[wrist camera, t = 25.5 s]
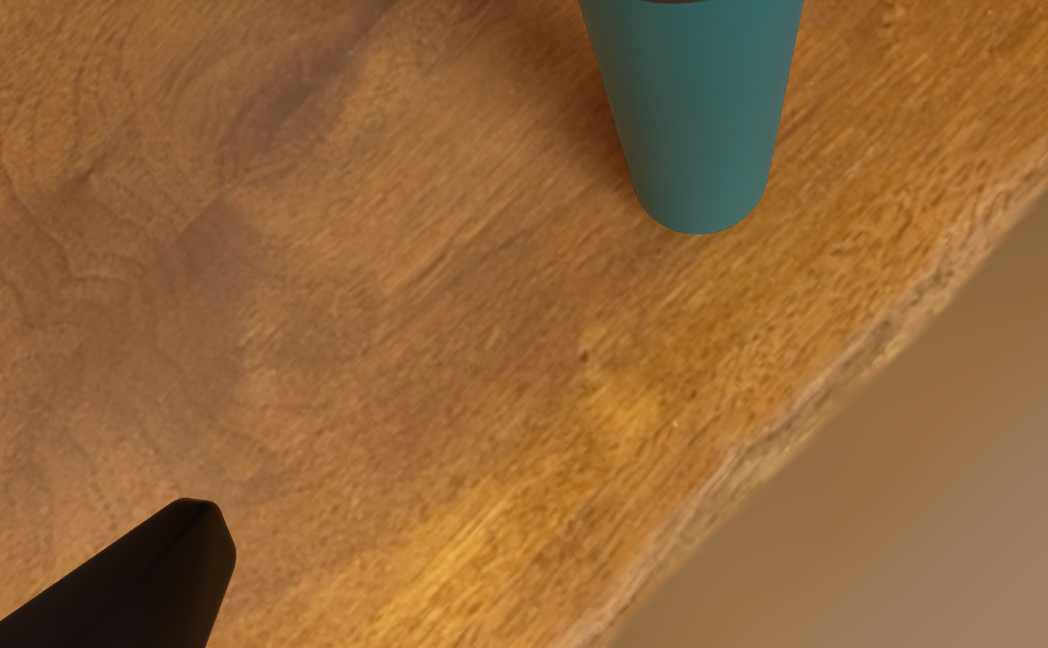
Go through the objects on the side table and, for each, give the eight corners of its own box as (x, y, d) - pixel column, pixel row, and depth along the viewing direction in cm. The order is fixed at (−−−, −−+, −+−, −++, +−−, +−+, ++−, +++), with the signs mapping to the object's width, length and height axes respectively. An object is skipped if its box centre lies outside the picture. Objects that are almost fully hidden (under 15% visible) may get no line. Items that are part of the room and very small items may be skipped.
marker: (799, 188, 22) (933, -219, 9) (692, 278, 22) (661, 15, 9) (707, 93, 22) (700, -412, 9) (605, 180, 23) (459, -193, 10)
